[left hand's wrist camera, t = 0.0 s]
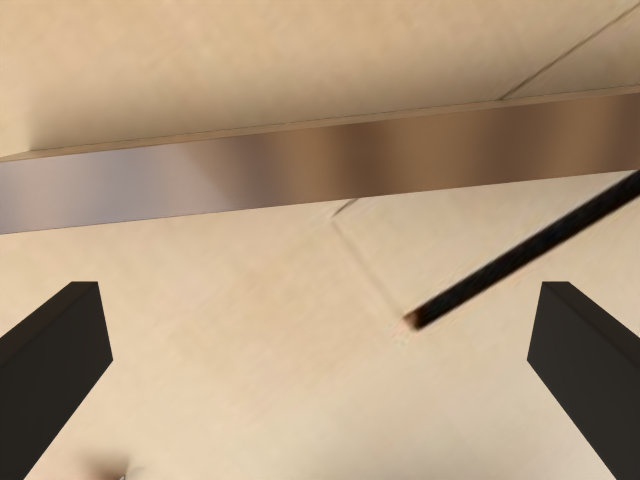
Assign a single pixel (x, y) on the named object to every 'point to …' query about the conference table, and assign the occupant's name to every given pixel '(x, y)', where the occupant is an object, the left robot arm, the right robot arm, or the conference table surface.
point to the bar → (323, 160)
